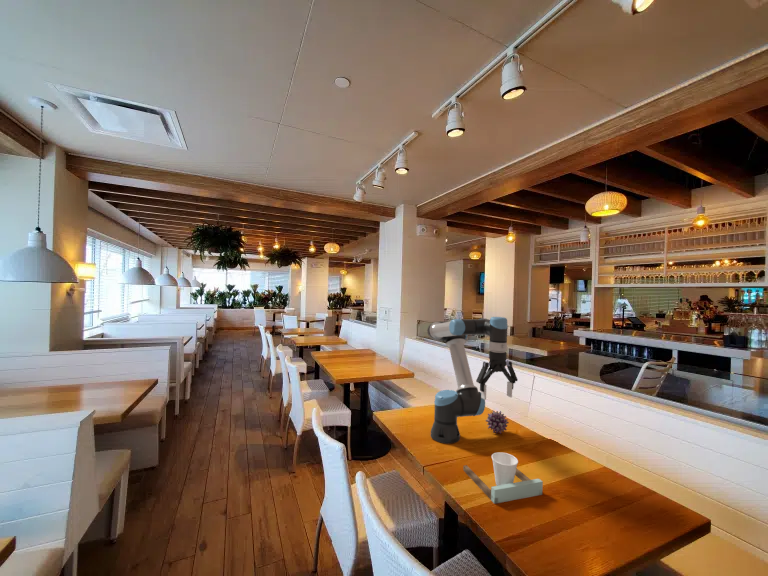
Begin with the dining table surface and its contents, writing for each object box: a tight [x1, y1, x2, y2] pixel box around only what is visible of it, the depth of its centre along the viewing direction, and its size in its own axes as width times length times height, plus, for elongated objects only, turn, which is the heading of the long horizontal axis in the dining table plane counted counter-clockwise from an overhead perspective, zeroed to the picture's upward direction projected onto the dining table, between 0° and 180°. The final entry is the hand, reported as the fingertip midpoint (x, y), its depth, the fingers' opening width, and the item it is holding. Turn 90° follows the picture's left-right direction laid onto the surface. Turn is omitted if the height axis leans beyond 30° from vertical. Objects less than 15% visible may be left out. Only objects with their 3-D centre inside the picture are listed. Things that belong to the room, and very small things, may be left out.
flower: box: [485, 410, 509, 434], centre depth 176 cm, size 12×12×12 cm
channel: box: [462, 464, 543, 504], centre depth 131 cm, size 22×21×2 cm
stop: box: [490, 478, 544, 504], centre depth 122 cm, size 2×21×5 cm, turn 106°
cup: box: [491, 452, 519, 486], centre depth 128 cm, size 10×10×11 cm
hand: (496, 397), depth 148 cm, fingers open, 13 cm apart
